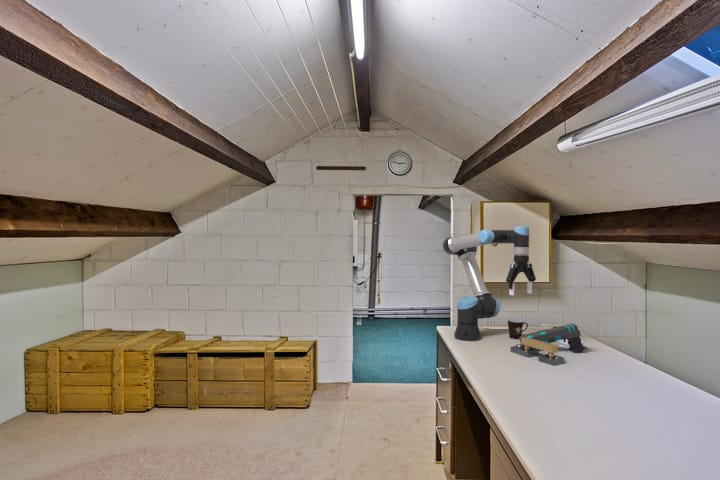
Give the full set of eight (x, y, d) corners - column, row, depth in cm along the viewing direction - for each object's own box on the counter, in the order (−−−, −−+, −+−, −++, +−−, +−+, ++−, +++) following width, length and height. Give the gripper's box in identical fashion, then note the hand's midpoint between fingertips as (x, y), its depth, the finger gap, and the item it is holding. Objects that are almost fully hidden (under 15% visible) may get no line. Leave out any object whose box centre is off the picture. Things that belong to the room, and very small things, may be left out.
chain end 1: (510, 351, 211) (510, 344, 211) (521, 349, 215) (521, 343, 215) (528, 357, 202) (528, 350, 201) (539, 355, 205) (539, 348, 205)
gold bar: (521, 353, 208) (521, 338, 208) (526, 352, 210) (526, 337, 209) (552, 363, 192) (552, 346, 192) (557, 362, 194) (557, 345, 194)
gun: (586, 350, 208) (577, 322, 209) (529, 366, 212) (520, 338, 212) (581, 347, 215) (572, 319, 215) (525, 362, 218) (516, 335, 219)
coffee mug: (507, 338, 237) (507, 321, 237) (507, 335, 245) (507, 318, 245) (529, 340, 233) (529, 323, 233) (527, 336, 242) (527, 320, 242)
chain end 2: (538, 360, 196) (538, 354, 196) (549, 358, 200) (549, 352, 200) (553, 365, 189) (553, 358, 189) (564, 363, 193) (564, 356, 193)
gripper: (510, 255, 210) (509, 296, 211) (543, 254, 222) (542, 293, 222) (499, 255, 217) (498, 294, 217) (531, 254, 228) (531, 291, 229)
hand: (520, 294), depth 220 cm, fingers open, 13 cm apart
